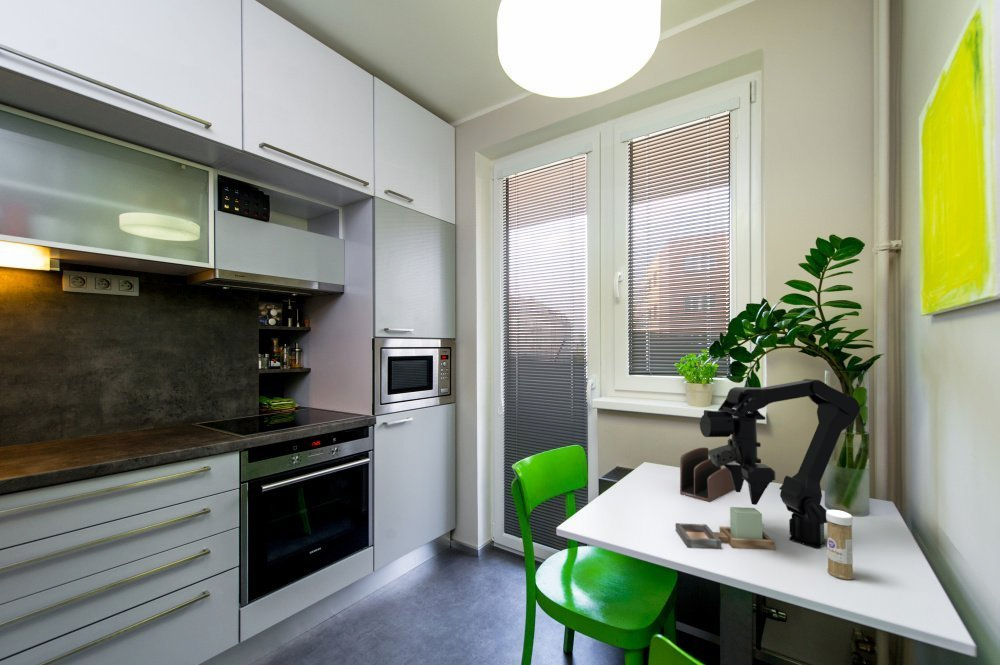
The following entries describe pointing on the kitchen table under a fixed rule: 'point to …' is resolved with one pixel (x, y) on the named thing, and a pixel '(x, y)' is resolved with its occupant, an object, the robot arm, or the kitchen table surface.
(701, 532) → the joined double square frame
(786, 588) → the kitchen table surface
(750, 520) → the sage peg
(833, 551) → the sprinkles bottle
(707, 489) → the letter holder
